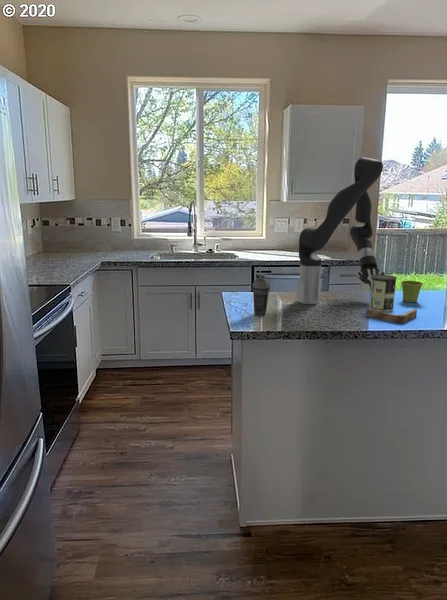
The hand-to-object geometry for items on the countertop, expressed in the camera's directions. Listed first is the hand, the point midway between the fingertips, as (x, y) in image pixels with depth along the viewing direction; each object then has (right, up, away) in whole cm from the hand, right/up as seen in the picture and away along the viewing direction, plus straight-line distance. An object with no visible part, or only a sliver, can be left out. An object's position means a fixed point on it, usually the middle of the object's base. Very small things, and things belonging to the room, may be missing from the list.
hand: (373, 290), depth 206 cm
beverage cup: (-53, -11, -20) cm, 58 cm away
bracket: (+1, -12, -24) cm, 27 cm away
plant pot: (+18, -5, +5) cm, 20 cm away
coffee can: (0, -8, -8) cm, 11 cm away
